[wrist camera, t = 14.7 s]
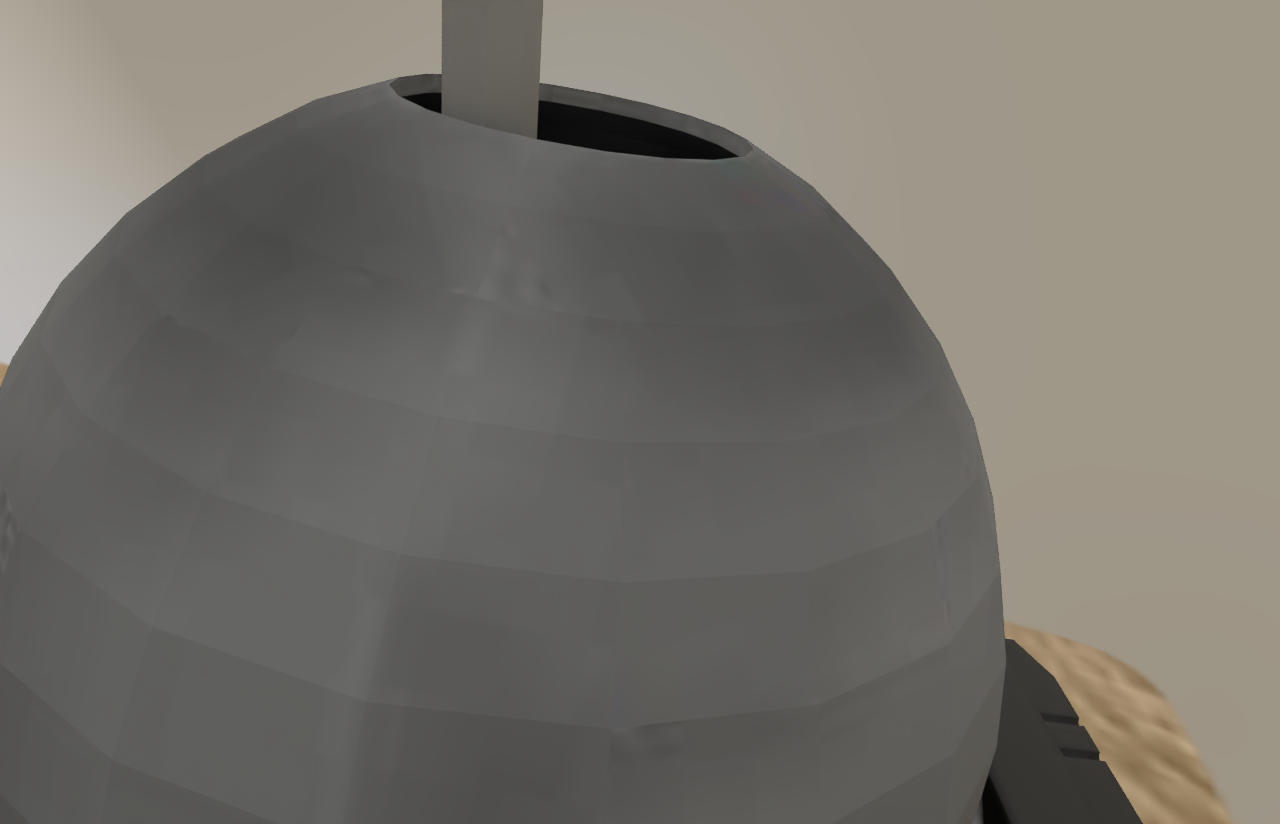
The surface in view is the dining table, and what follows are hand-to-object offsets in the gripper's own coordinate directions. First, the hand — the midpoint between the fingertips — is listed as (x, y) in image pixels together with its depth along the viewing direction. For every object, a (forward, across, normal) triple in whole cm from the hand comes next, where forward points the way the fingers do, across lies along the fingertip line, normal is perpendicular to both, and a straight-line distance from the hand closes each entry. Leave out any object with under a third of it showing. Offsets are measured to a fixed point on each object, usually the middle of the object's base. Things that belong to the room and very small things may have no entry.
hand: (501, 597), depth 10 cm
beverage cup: (-2, 0, +11) cm, 11 cm away
